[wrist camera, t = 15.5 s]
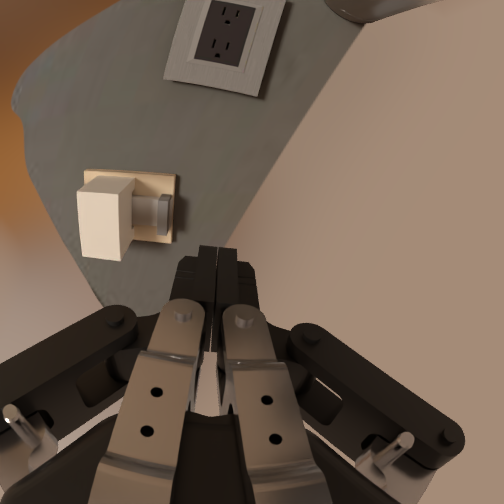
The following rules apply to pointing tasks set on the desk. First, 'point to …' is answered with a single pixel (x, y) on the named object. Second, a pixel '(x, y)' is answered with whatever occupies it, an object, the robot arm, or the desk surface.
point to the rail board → (147, 202)
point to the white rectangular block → (106, 216)
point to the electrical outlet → (224, 43)
